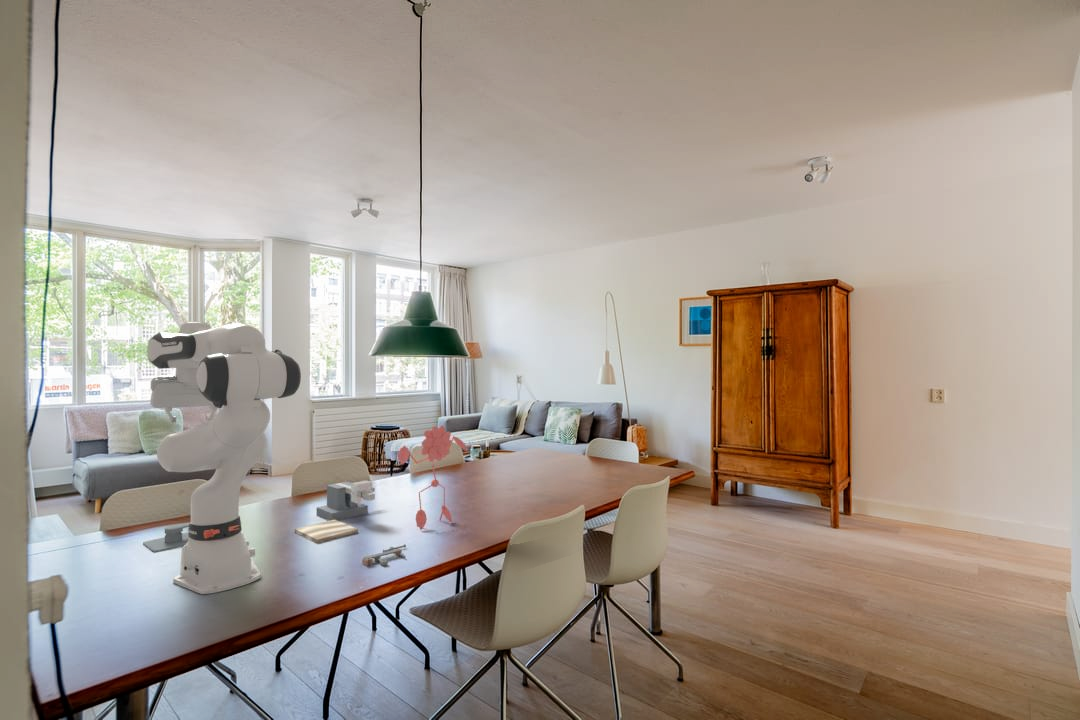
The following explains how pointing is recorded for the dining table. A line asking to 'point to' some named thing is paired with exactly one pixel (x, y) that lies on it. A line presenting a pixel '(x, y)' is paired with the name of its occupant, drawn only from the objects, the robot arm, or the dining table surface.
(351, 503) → the grey machinist vise
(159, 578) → the dining table surface
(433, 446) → the pink stick figure
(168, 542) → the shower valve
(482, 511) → the dining table surface
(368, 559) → the clamp
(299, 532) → the ash board
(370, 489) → the white notched block
